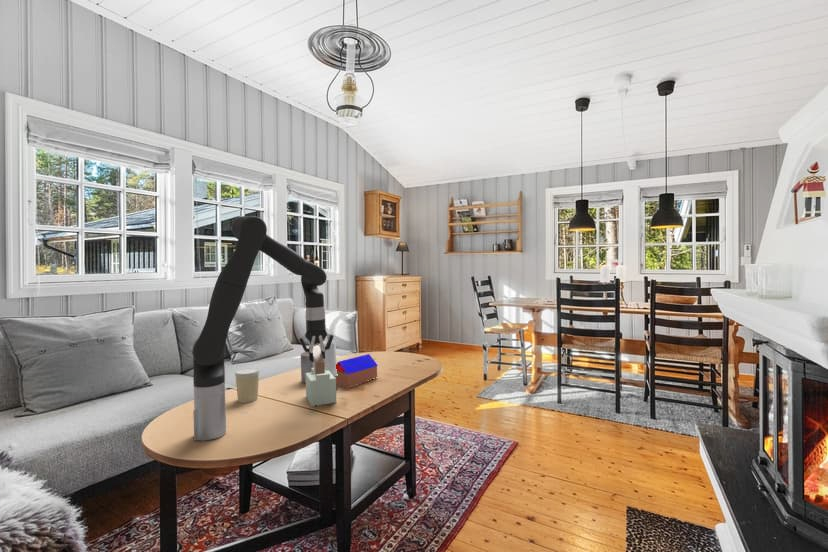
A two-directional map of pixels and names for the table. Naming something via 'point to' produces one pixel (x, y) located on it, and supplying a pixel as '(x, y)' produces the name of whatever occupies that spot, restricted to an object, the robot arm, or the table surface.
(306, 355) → the pillar candle
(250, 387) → the coffee cup
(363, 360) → the house
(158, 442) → the table surface
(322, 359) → the long beige cuboid
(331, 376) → the stand
